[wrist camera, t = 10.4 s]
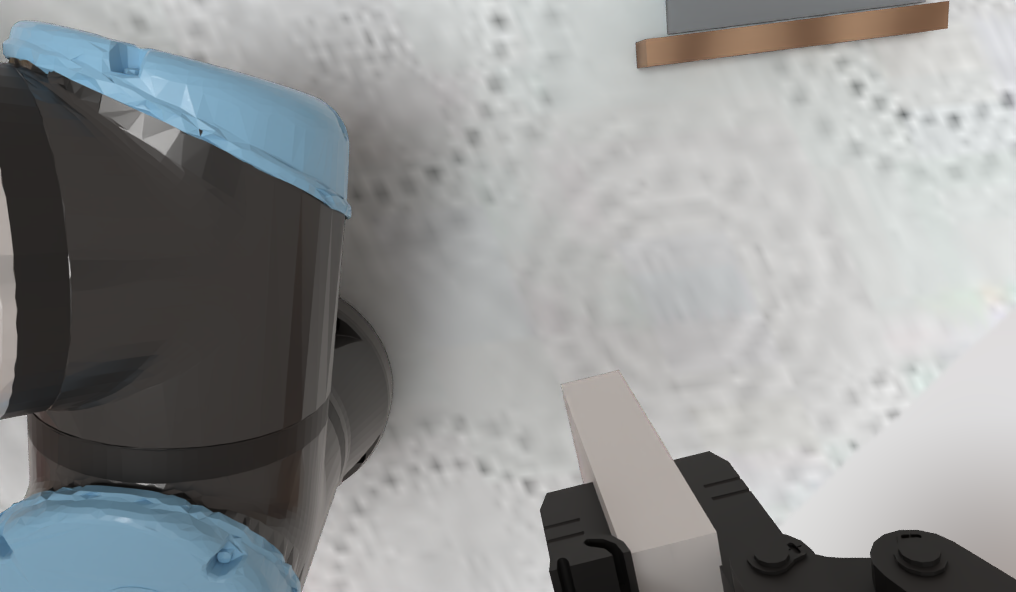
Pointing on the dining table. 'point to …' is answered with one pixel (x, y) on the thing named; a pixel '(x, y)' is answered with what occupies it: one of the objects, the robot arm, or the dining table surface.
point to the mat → (757, 11)
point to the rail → (792, 34)
